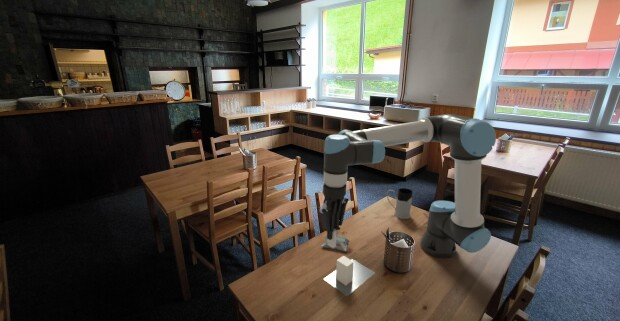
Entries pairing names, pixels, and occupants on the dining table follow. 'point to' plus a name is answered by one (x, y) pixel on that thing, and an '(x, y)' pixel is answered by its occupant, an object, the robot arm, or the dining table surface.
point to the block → (344, 270)
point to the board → (359, 278)
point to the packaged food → (338, 243)
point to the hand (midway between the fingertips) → (331, 245)
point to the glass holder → (402, 203)
